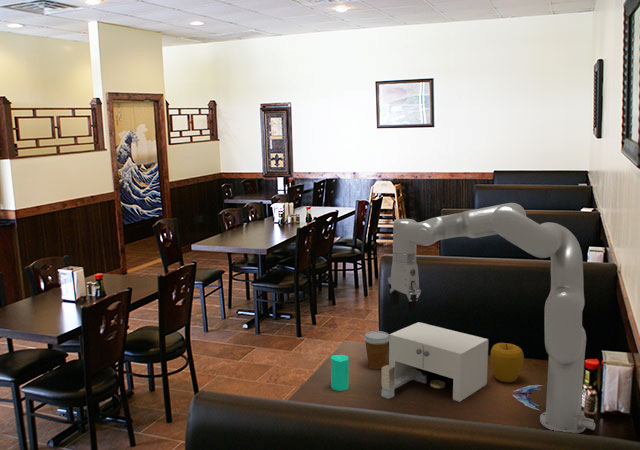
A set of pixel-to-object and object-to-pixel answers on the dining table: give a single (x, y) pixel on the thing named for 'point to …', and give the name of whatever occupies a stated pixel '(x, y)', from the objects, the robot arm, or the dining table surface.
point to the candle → (339, 372)
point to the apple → (506, 361)
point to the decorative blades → (526, 399)
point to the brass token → (437, 384)
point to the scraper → (398, 380)
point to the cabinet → (441, 356)
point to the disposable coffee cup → (376, 348)
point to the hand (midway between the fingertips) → (403, 308)
